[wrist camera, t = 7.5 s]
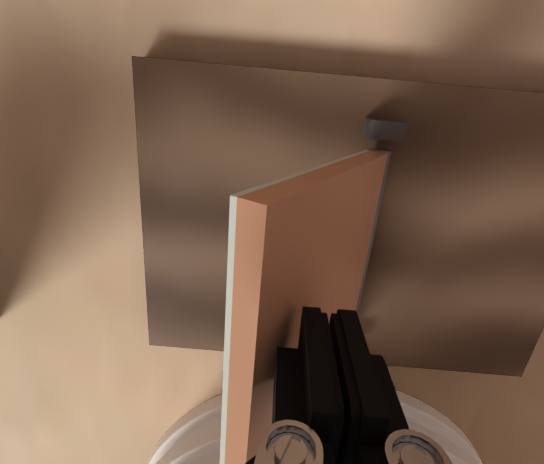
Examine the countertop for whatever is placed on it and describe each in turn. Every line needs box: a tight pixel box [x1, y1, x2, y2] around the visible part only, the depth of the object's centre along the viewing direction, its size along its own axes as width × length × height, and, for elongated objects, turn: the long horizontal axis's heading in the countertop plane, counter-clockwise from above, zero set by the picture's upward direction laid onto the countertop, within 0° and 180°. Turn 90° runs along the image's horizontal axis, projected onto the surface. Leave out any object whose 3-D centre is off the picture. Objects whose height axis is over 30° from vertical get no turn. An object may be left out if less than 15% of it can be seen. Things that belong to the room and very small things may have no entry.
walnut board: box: [132, 56, 544, 377], centre depth 19 cm, size 16×23×3 cm
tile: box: [220, 148, 392, 464], centre depth 14 cm, size 10×11×1 cm
